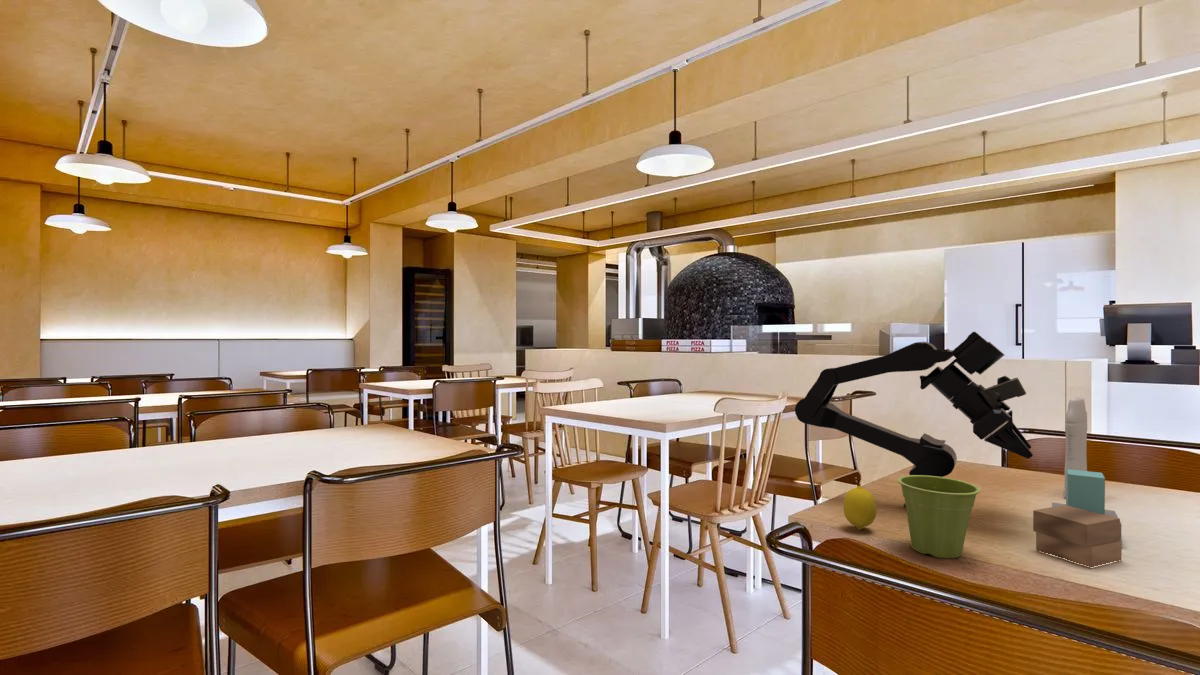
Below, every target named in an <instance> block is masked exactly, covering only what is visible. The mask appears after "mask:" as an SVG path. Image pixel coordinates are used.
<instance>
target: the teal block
mask: <svg viewBox="0 0 1200 675" xmlns="http://www.w3.org/2000/svg"><path fill="white" fill-rule="evenodd" d="M1065 504H1066V505H1067V506H1071V507H1075V508H1079V509H1083V510H1087V511H1091V512H1095V513H1099V514H1103V515H1105V510H1106V506H1105V505H1106V477H1105V475H1104V474H1103V472H1097V471H1088V470H1087V471H1081V470H1072V469H1067V475H1066V499H1065Z"/></svg>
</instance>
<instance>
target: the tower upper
mask: <svg viewBox="0 0 1200 675" xmlns="http://www.w3.org/2000/svg"><path fill="white" fill-rule="evenodd" d="M1032 513H1033V514H1032V516H1033V521H1032V522H1033V523H1032V524H1033V525H1032V528H1033V529H1032V530H1033V532H1035V533H1036V532H1038V533H1041V534H1044V535H1048V536H1051V537H1054V538H1058V539H1061V540H1064V541H1067V542H1071V543H1074V544H1077V545H1081V546H1084V547H1092V546H1097V545H1102V544H1106V543H1111V542H1116V541H1120V522H1121V518H1119V517H1118V518H1115V517H1111V516H1107V515H1103V514H1099V513H1095V512H1091V511H1087V510H1083V509H1079V508H1075V507H1071V506H1067V505H1062V506H1056V507H1052V506H1051V507H1045V508H1039V509H1033V510H1032Z"/></svg>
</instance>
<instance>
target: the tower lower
mask: <svg viewBox="0 0 1200 675" xmlns="http://www.w3.org/2000/svg"><path fill="white" fill-rule="evenodd" d="M1122 542H1123V541H1122V539H1121V540H1120V541H1116V542H1111V543H1106V544H1102V545H1097V546H1092V547H1084V546H1081V545H1077V544H1074V543H1071V542H1067V541H1064V540H1061V539H1058V538H1054V537H1051V536H1048V535H1044V534H1041V533H1038V532H1035V551H1036V550H1037V551H1041V552H1044V553H1048V554H1052V555H1055V556H1058V557H1061V558H1065V559H1067V560H1070V561H1073V562H1076V563H1079V564H1083V565H1086V566H1089V567H1094V566H1098V565H1102V564H1106V563H1110V562H1114V561H1119V560H1121V561H1122V545H1123V544H1122ZM1037 551H1036V552H1037Z"/></svg>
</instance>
